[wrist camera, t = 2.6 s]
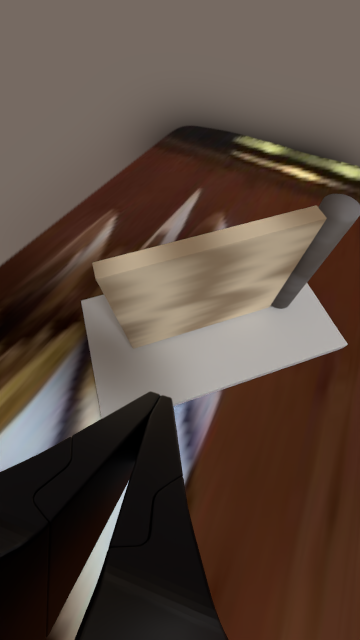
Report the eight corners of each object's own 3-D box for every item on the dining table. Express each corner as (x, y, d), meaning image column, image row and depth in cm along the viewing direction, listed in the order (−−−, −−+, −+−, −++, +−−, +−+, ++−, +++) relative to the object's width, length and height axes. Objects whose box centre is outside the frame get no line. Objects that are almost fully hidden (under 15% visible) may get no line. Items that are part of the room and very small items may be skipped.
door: (275, 273, 23) (331, 173, 14) (294, 305, 21) (369, 215, 13) (124, 316, 21) (85, 232, 13) (134, 354, 20) (97, 288, 11)
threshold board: (278, 252, 26) (282, 245, 25) (340, 348, 21) (347, 344, 20) (84, 306, 23) (81, 300, 22) (107, 429, 18) (103, 428, 18)
